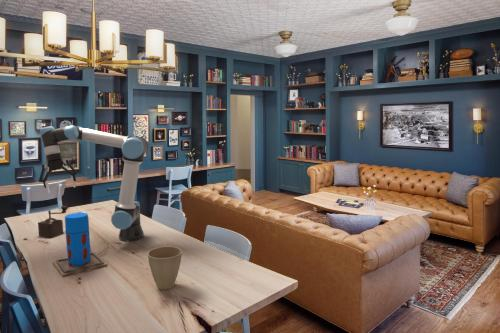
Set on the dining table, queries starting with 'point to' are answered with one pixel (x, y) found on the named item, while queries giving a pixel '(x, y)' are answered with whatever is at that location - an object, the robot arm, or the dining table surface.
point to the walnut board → (70, 270)
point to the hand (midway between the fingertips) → (62, 190)
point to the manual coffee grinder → (51, 225)
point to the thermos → (77, 239)
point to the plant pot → (164, 265)
